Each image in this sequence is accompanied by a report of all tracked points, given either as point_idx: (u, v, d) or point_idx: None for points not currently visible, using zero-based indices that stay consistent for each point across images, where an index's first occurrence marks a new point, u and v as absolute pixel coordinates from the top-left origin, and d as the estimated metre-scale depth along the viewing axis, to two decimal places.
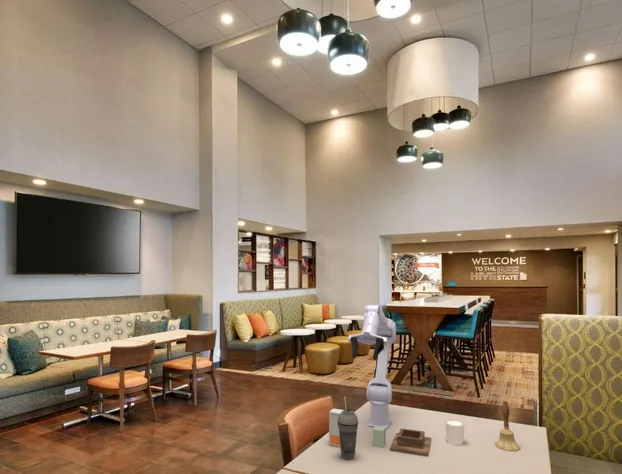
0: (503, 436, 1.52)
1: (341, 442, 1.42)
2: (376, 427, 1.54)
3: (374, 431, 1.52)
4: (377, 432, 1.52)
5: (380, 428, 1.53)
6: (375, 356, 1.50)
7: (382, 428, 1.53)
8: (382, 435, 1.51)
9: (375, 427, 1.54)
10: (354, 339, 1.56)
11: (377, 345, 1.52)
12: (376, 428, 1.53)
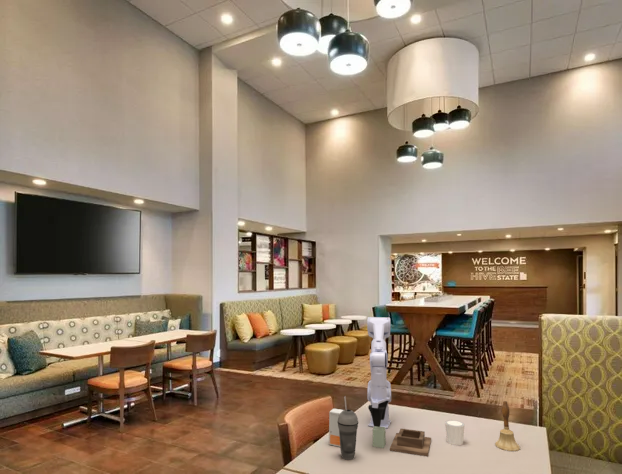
0: (503, 436, 1.52)
1: (341, 442, 1.42)
2: (376, 427, 1.54)
3: (374, 431, 1.52)
4: (377, 432, 1.52)
5: (380, 428, 1.53)
6: None
7: (382, 428, 1.53)
8: (382, 435, 1.51)
9: (375, 427, 1.54)
10: (383, 410, 1.49)
11: (386, 407, 1.58)
12: (376, 428, 1.53)
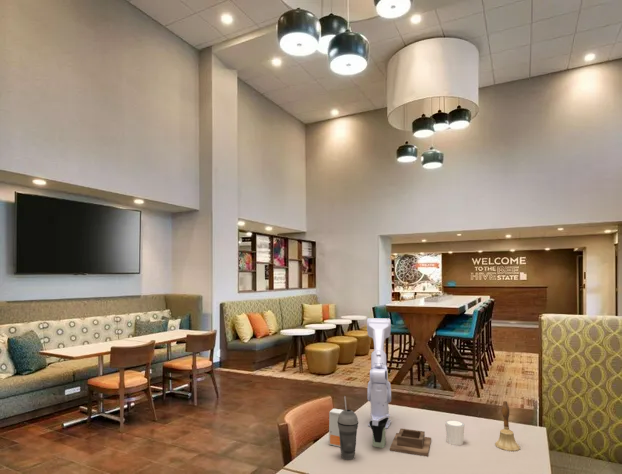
0: (503, 436, 1.52)
1: (341, 442, 1.42)
2: None
3: None
4: None
5: None
6: None
7: None
8: (382, 435, 1.51)
9: None
10: (384, 426, 1.50)
11: (385, 425, 1.56)
12: None
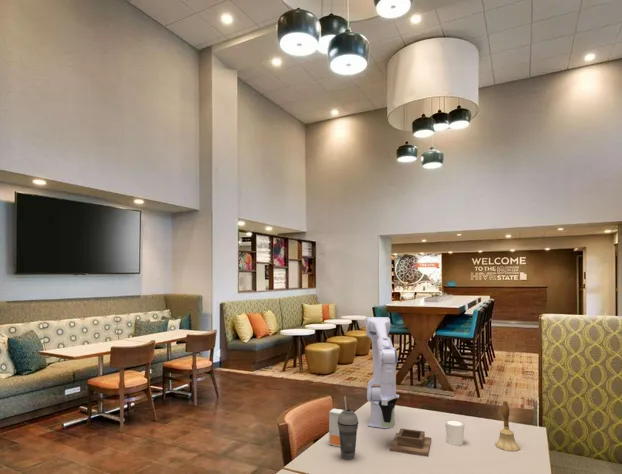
0: (503, 436, 1.52)
1: (341, 442, 1.42)
2: None
3: None
4: None
5: None
6: None
7: None
8: (391, 415, 1.52)
9: None
10: None
11: (394, 406, 1.56)
12: None
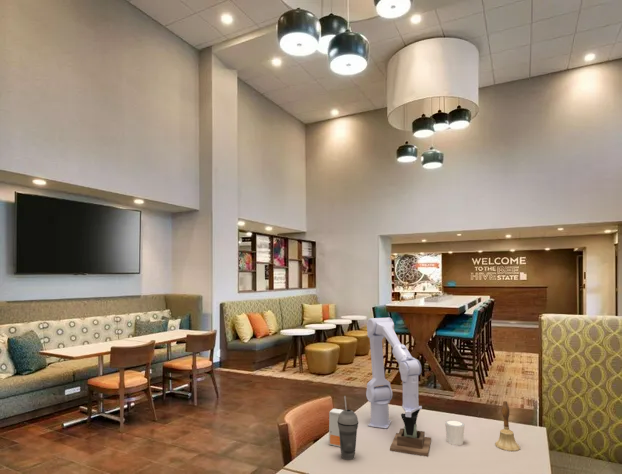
0: (503, 436, 1.52)
1: (341, 442, 1.42)
2: None
3: None
4: None
5: None
6: None
7: None
8: (414, 432, 1.51)
9: None
10: (416, 418, 1.50)
11: (417, 416, 1.57)
12: None
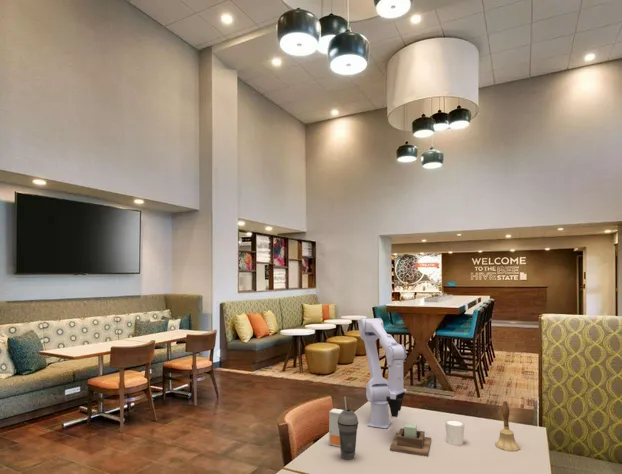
0: (503, 436, 1.52)
1: (341, 442, 1.42)
2: (407, 424, 1.54)
3: (406, 428, 1.52)
4: (409, 430, 1.52)
5: (412, 426, 1.53)
6: (399, 409, 1.64)
7: (413, 425, 1.53)
8: (414, 432, 1.51)
9: (406, 424, 1.54)
10: (400, 401, 1.56)
11: (402, 398, 1.64)
12: (407, 425, 1.53)
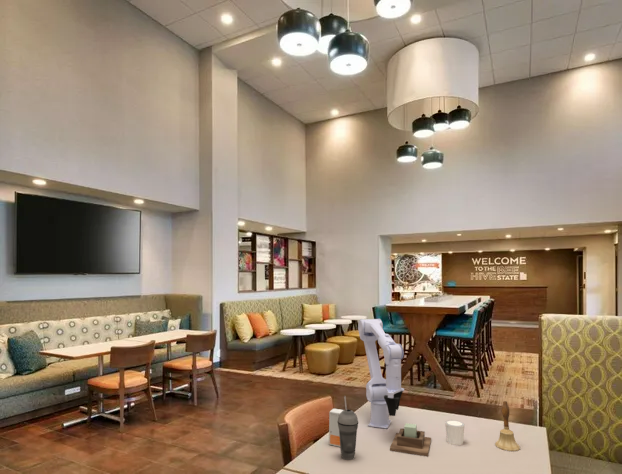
0: (503, 436, 1.52)
1: (341, 442, 1.42)
2: (407, 424, 1.54)
3: (406, 428, 1.52)
4: (409, 430, 1.52)
5: (412, 426, 1.53)
6: None
7: (413, 425, 1.53)
8: (414, 432, 1.51)
9: (406, 424, 1.54)
10: None
11: None
12: (407, 425, 1.53)
